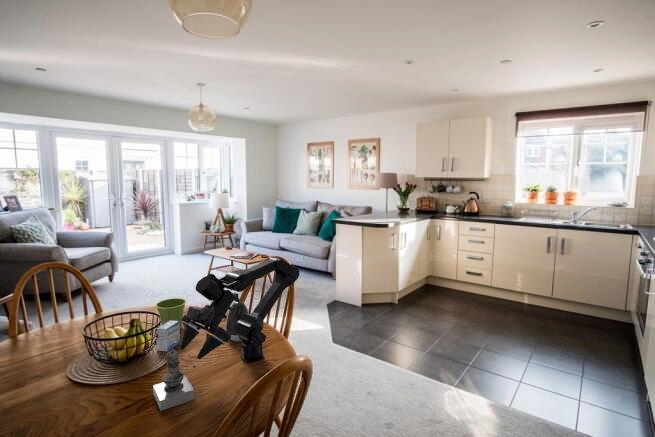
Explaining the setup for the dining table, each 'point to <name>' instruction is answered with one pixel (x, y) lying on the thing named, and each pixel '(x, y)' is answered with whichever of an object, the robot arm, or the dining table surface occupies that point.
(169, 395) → the rectangular block
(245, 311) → the pump dispenser
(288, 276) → the robot arm
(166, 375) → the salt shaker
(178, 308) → the plant pot
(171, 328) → the medicine box
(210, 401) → the dining table surface
